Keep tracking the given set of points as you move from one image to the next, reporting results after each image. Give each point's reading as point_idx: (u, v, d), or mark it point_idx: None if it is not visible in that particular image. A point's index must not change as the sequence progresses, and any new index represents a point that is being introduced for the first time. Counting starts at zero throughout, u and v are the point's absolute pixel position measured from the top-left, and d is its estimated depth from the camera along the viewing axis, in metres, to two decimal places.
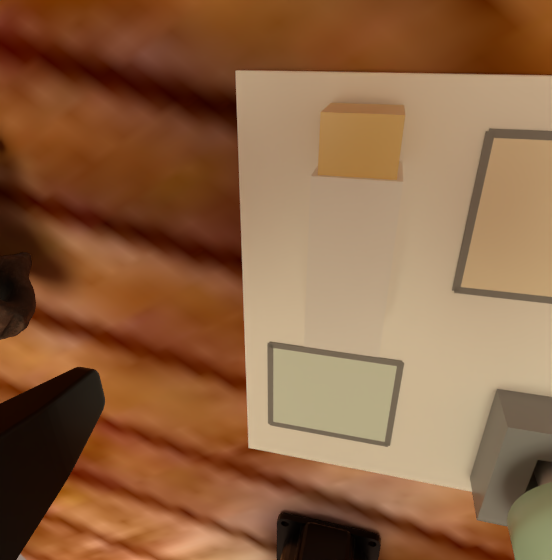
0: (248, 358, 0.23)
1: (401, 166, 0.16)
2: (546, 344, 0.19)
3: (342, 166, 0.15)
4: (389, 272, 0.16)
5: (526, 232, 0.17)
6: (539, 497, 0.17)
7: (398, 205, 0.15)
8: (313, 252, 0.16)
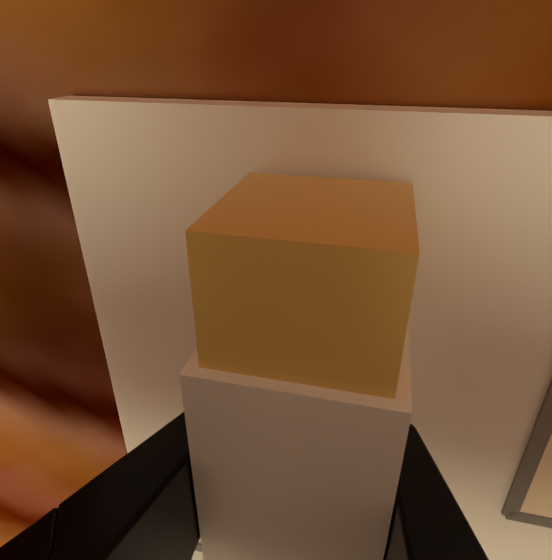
0: None
1: None
2: None
3: (255, 357, 0.06)
4: None
5: None
6: None
7: (399, 457, 0.06)
8: (208, 510, 0.07)
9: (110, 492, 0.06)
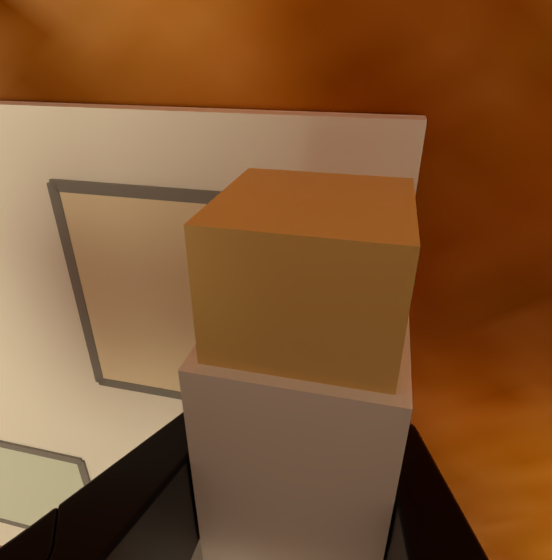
0: None
1: None
2: None
3: (255, 353, 0.06)
4: None
5: (149, 315, 0.12)
6: None
7: (399, 454, 0.06)
8: (208, 508, 0.07)
9: (110, 492, 0.06)
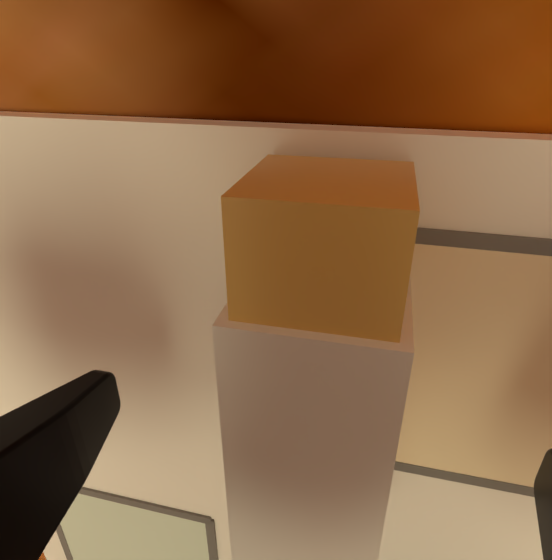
0: None
1: None
2: (398, 518, 0.12)
3: (279, 309, 0.07)
4: (385, 503, 0.08)
5: None
6: None
7: (403, 395, 0.07)
8: (233, 454, 0.08)
9: None
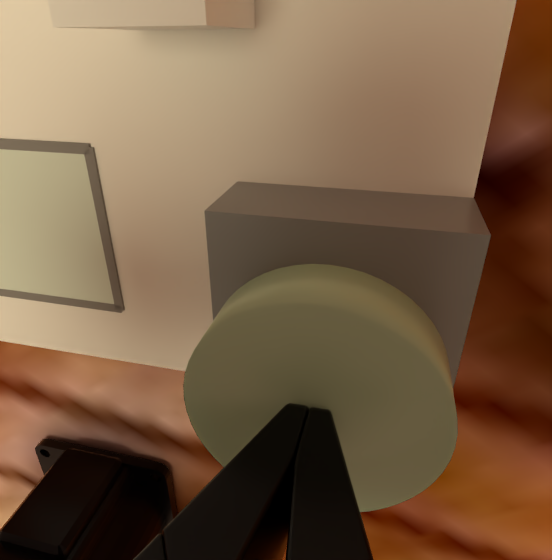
0: None
1: None
2: (288, 72, 0.11)
3: None
4: None
5: None
6: (225, 305, 0.09)
7: None
8: None
9: (212, 516, 0.06)
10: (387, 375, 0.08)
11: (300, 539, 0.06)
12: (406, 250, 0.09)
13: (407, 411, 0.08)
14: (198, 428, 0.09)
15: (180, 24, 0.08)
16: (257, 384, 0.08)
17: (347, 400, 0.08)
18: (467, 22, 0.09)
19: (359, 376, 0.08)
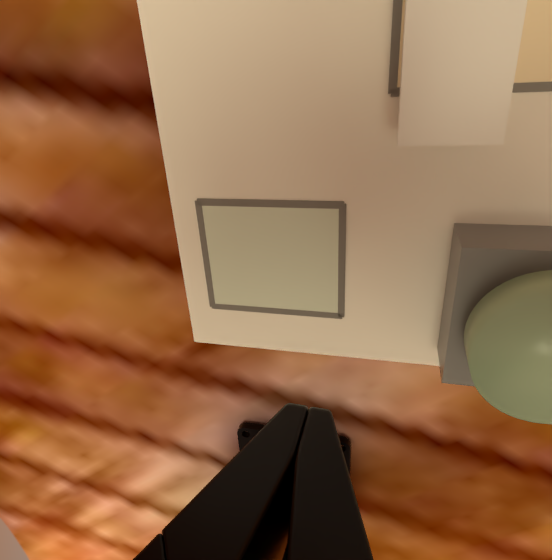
0: (177, 224, 0.21)
1: None
2: (504, 153, 0.16)
3: None
4: None
5: None
6: (492, 298, 0.15)
7: None
8: None
9: (213, 516, 0.06)
10: None
11: (300, 539, 0.06)
12: None
13: None
14: (474, 374, 0.15)
15: (486, 144, 0.13)
16: (525, 342, 0.14)
17: None
18: None
19: None
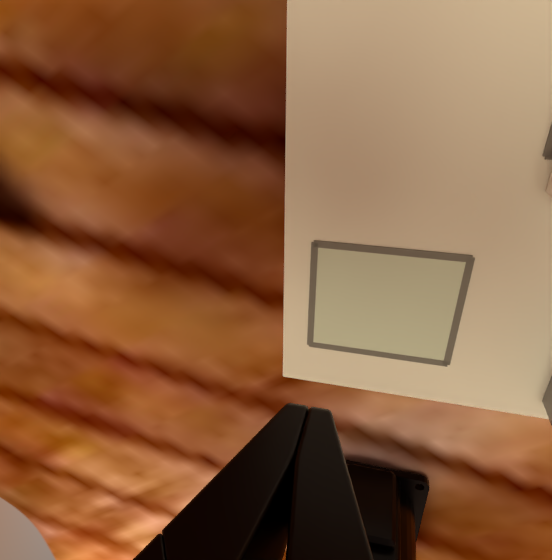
0: (287, 263, 0.20)
1: None
2: None
3: None
4: None
5: None
6: None
7: None
8: None
9: (213, 516, 0.06)
10: None
11: (300, 539, 0.06)
12: None
13: None
14: None
15: None
16: None
17: None
18: None
19: None
